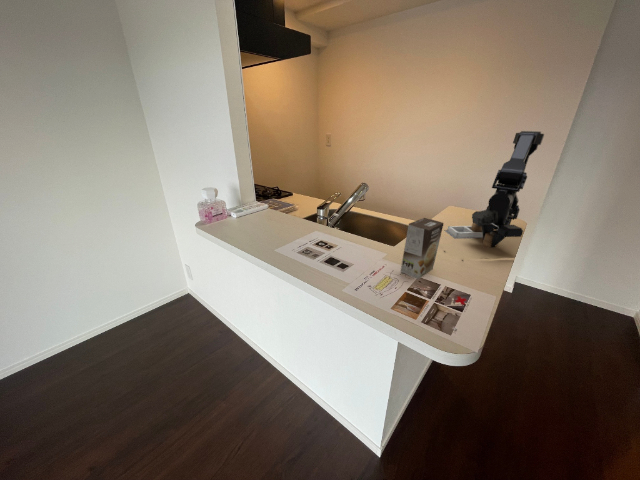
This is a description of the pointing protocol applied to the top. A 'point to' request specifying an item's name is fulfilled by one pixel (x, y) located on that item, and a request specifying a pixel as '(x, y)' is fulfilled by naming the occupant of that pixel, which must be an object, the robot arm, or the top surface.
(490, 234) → the brown cylinder
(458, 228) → the housing
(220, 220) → the top surface
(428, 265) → the coffee box
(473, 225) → the brown housed cylinder
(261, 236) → the top surface
